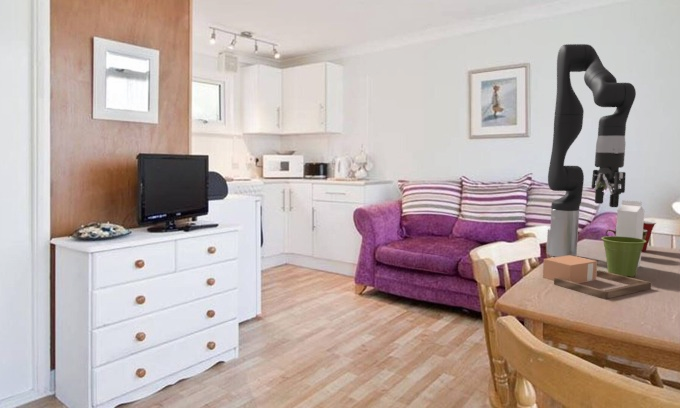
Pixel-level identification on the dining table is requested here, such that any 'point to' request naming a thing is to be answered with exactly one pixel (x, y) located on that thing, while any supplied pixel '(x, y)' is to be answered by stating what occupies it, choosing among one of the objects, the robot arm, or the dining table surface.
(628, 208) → the milk
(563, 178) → the robot arm
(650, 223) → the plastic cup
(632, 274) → the plant pot
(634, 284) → the tray
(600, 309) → the dining table surface
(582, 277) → the carton
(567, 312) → the dining table surface
